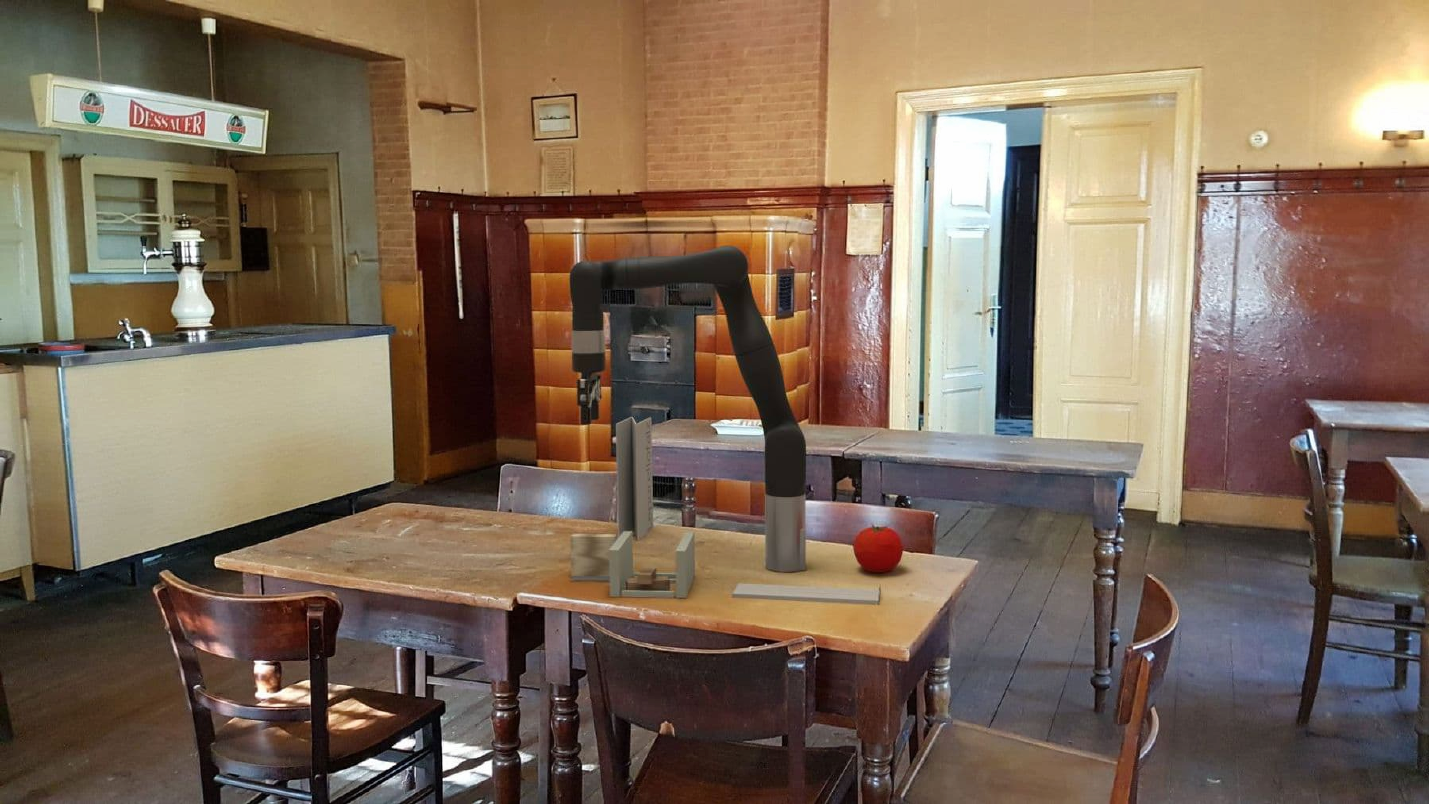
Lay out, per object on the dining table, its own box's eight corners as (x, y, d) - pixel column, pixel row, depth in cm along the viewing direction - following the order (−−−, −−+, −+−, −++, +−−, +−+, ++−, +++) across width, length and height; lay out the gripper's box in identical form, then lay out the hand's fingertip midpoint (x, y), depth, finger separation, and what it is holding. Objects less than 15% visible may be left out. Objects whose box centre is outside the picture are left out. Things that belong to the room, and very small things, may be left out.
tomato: (910, 566, 238) (911, 522, 237) (891, 580, 227) (892, 534, 226) (864, 560, 244) (865, 517, 243) (844, 573, 233) (844, 529, 232)
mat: (622, 571, 237) (622, 569, 237) (614, 582, 228) (614, 580, 228) (579, 570, 238) (579, 568, 238) (570, 581, 229) (570, 579, 229)
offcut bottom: (666, 589, 223) (666, 575, 223) (670, 593, 221) (669, 579, 220) (625, 593, 221) (625, 579, 221) (628, 597, 218) (628, 583, 218)
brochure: (638, 540, 265) (636, 424, 261) (618, 539, 266) (615, 424, 262) (653, 528, 279) (651, 417, 275) (633, 527, 280) (631, 416, 276)
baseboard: (740, 586, 226) (732, 600, 216) (740, 573, 226) (732, 587, 216) (880, 592, 220) (878, 607, 210) (880, 579, 220) (878, 594, 210)
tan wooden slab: (617, 573, 233) (616, 534, 232) (615, 576, 231) (614, 537, 230) (573, 572, 234) (572, 533, 233) (571, 575, 232) (570, 536, 231)
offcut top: (643, 575, 223) (643, 566, 223) (656, 576, 223) (656, 567, 223) (638, 583, 217) (637, 574, 217) (651, 584, 217) (651, 574, 217)
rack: (694, 575, 232) (694, 532, 231) (685, 598, 216) (685, 551, 215) (624, 574, 234) (623, 531, 233) (610, 596, 217) (609, 549, 216)
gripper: (598, 352, 226) (600, 426, 228) (611, 348, 240) (612, 418, 242) (564, 352, 227) (566, 426, 228) (579, 348, 241) (581, 418, 243)
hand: (590, 422), depth 235 cm, fingers open, 8 cm apart
